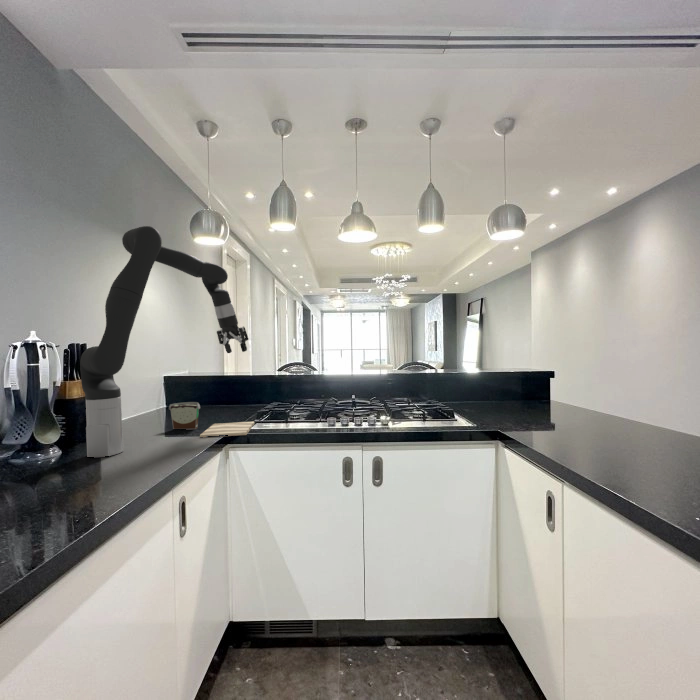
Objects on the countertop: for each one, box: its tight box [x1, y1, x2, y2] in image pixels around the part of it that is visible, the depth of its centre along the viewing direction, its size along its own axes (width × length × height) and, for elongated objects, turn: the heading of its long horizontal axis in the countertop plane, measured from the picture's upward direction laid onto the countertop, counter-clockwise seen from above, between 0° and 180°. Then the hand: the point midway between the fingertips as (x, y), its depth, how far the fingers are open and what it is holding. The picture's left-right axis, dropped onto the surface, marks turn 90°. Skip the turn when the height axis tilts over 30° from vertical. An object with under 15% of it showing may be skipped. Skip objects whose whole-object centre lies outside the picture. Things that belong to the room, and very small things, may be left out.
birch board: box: [199, 421, 255, 438], centre depth 149 cm, size 20×16×1 cm
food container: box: [168, 401, 201, 430], centre depth 157 cm, size 12×6×10 cm, turn 84°
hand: (237, 352), depth 167 cm, fingers open, 8 cm apart
